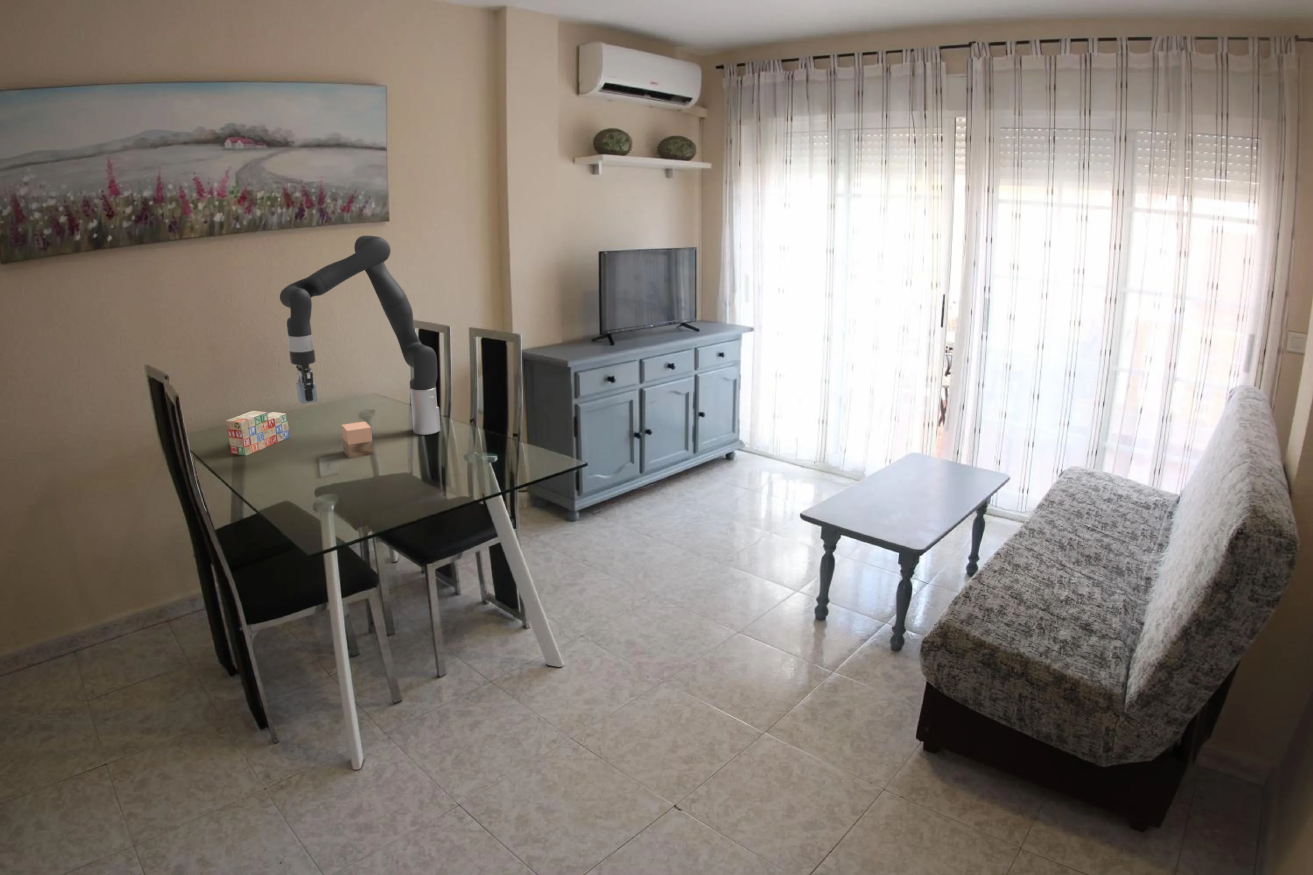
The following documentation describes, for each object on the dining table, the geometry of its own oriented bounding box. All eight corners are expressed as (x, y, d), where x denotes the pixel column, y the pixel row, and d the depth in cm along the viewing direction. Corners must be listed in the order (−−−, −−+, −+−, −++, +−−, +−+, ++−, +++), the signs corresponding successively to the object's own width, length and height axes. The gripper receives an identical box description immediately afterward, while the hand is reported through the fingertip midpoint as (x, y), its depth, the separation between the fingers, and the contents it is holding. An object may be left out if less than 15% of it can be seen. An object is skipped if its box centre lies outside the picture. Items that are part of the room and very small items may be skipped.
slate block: (314, 398, 271) (312, 380, 269) (317, 401, 267) (315, 384, 266) (298, 400, 269) (296, 382, 267) (301, 403, 265) (299, 386, 263)
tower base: (367, 448, 286) (365, 434, 284) (373, 454, 279) (372, 441, 278) (343, 451, 281) (342, 438, 280) (349, 458, 275) (348, 444, 274)
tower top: (366, 434, 284) (365, 421, 283) (372, 441, 278) (371, 427, 276) (342, 438, 280) (341, 424, 278) (348, 444, 274) (346, 430, 272)
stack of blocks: (276, 435, 296) (271, 403, 293) (290, 437, 295) (286, 405, 291) (230, 453, 277) (225, 419, 273) (245, 456, 275) (240, 421, 271)
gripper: (318, 351, 259) (324, 402, 264) (309, 343, 270) (314, 392, 276) (293, 354, 255) (300, 405, 260) (285, 345, 266) (291, 395, 272)
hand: (307, 398), depth 268 cm, fingers closed on slate block, 5 cm apart
